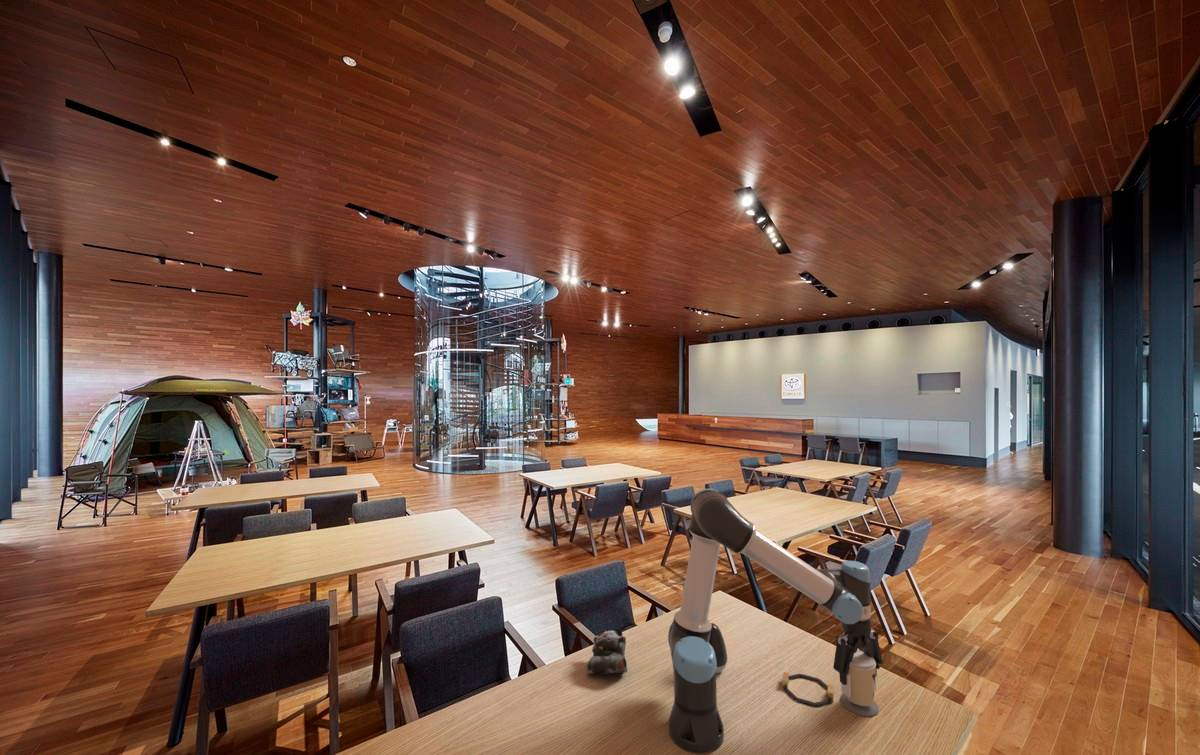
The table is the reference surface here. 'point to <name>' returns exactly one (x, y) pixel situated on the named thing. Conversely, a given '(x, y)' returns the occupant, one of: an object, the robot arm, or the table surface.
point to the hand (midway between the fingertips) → (858, 690)
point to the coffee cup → (862, 679)
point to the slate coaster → (859, 707)
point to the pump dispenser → (718, 647)
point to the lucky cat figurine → (608, 653)
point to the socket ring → (830, 687)
